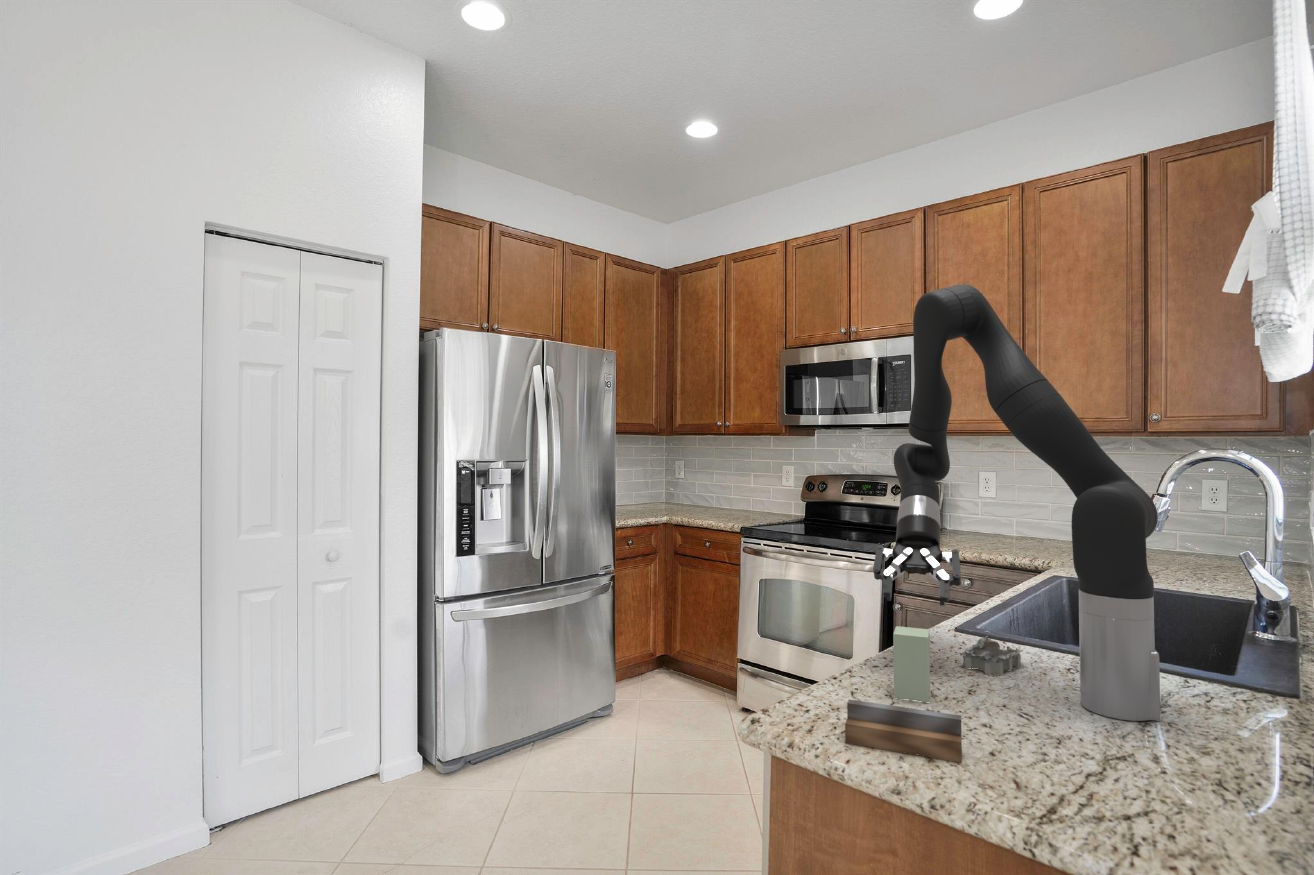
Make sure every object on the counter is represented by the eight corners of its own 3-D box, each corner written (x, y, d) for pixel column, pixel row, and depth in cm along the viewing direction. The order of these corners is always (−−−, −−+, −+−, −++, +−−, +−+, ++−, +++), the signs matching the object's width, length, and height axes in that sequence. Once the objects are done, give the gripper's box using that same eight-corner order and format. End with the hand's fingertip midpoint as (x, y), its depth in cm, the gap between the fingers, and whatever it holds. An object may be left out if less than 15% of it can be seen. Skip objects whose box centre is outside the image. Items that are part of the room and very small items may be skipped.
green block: (930, 692, 106) (929, 629, 106) (928, 703, 102) (928, 637, 102) (896, 688, 108) (896, 626, 108) (894, 698, 104) (893, 633, 104)
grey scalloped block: (987, 656, 125) (986, 634, 125) (1028, 667, 119) (1028, 643, 119) (955, 667, 119) (954, 644, 119) (996, 678, 113) (996, 654, 113)
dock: (961, 729, 92) (961, 696, 92) (961, 762, 82) (961, 725, 83) (856, 713, 98) (856, 682, 98) (845, 742, 88) (844, 708, 88)
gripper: (876, 511, 125) (869, 584, 114) (960, 514, 119) (960, 591, 108) (880, 536, 130) (873, 608, 119) (960, 540, 124) (961, 616, 113)
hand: (915, 600), depth 114 cm, fingers open, 8 cm apart
